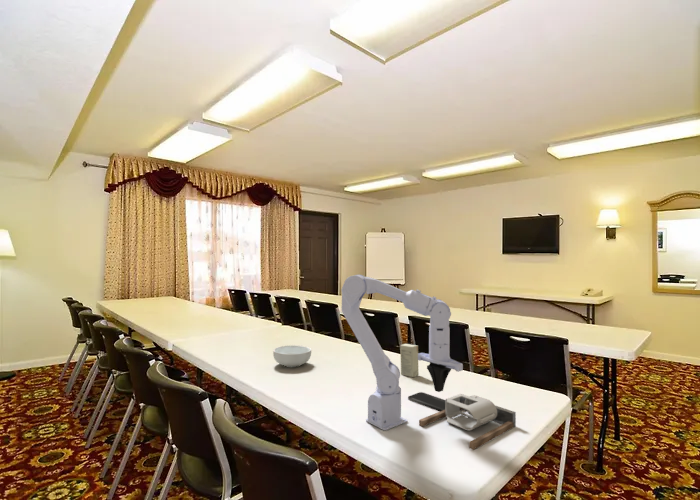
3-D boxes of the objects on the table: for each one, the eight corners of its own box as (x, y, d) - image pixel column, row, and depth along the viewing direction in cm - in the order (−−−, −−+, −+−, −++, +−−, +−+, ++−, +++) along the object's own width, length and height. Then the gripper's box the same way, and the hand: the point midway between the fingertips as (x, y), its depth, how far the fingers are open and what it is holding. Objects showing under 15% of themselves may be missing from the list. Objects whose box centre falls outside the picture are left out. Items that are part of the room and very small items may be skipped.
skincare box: (418, 375, 150) (418, 345, 150) (413, 377, 146) (413, 347, 147) (405, 372, 154) (405, 343, 154) (399, 374, 151) (399, 344, 151)
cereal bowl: (285, 373, 152) (285, 355, 152) (266, 364, 164) (266, 348, 164) (318, 365, 163) (318, 349, 163) (298, 358, 175) (298, 343, 176)
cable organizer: (464, 390, 114) (440, 398, 107) (501, 402, 104) (477, 412, 97) (464, 411, 114) (440, 421, 106) (502, 425, 104) (477, 437, 97)
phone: (444, 410, 112) (406, 396, 123) (444, 414, 112) (406, 400, 123) (458, 404, 117) (421, 391, 129) (458, 408, 117) (421, 394, 129)
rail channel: (473, 450, 90) (473, 433, 90) (419, 425, 104) (419, 410, 104) (515, 426, 103) (515, 412, 103) (462, 407, 117) (462, 394, 117)
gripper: (469, 345, 101) (469, 395, 101) (428, 336, 113) (428, 381, 112) (453, 349, 97) (453, 400, 96) (413, 339, 108) (412, 385, 108)
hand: (439, 390), depth 104 cm, fingers closed
